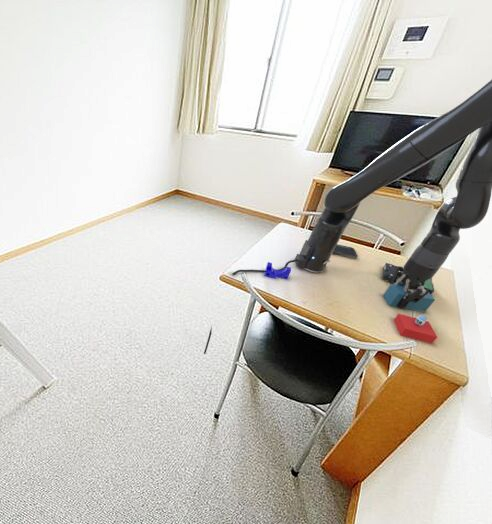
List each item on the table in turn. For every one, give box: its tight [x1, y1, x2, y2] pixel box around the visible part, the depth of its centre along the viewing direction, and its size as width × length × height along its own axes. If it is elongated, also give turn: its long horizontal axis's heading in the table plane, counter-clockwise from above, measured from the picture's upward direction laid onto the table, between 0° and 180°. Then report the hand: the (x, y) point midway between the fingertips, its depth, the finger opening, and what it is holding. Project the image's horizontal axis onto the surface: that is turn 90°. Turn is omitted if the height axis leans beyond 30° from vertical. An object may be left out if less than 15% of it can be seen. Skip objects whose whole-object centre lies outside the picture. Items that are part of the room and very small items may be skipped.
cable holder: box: [263, 261, 292, 280], centre depth 109 cm, size 8×4×4 cm, turn 70°
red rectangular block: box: [393, 313, 438, 344], centre depth 90 cm, size 8×7×6 cm
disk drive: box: [381, 262, 435, 295], centre depth 113 cm, size 10×3×15 cm
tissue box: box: [382, 283, 436, 313], centre depth 101 cm, size 5×11×7 cm, turn 79°
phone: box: [332, 243, 358, 260], centre depth 129 cm, size 8×1×15 cm
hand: (395, 301), depth 103 cm, fingers closed on tissue box, 5 cm apart
